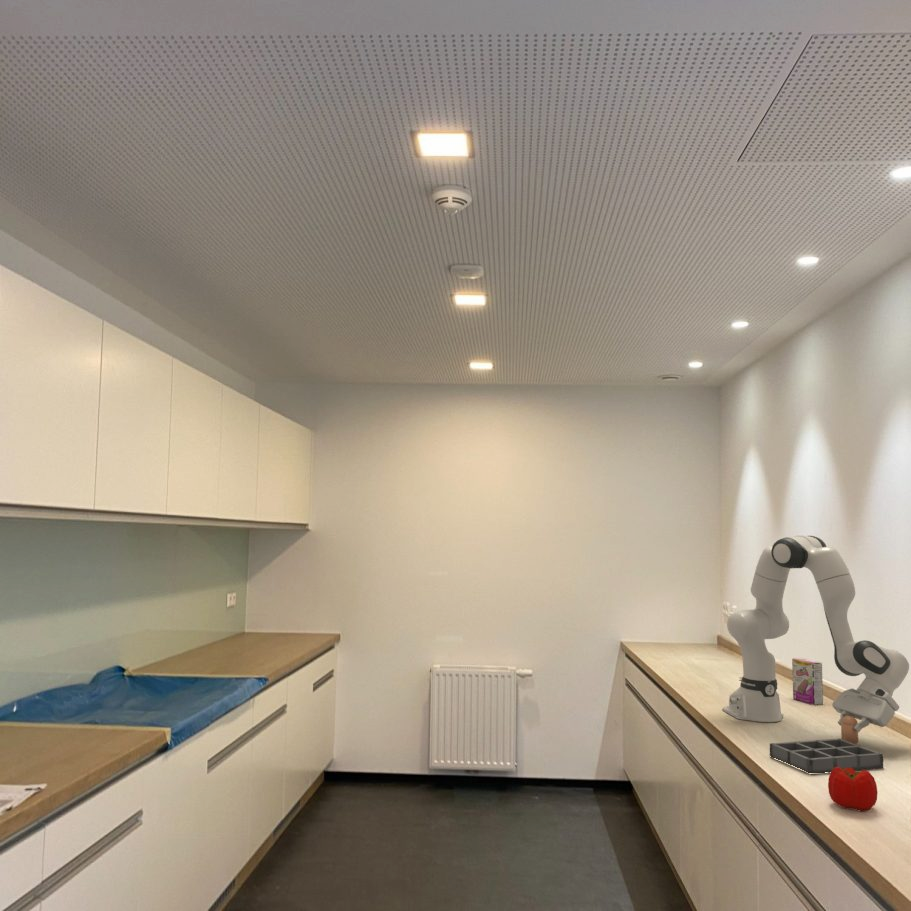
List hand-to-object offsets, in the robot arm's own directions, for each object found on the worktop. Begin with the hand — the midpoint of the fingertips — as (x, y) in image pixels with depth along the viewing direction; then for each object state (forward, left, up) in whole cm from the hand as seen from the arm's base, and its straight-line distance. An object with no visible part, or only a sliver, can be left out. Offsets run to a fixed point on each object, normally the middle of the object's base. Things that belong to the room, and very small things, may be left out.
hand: (847, 727), depth 249 cm
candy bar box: (-60, +34, -7) cm, 69 cm away
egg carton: (+11, -18, -6) cm, 23 cm away
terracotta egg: (0, +1, -4) cm, 4 cm away
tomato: (+44, -38, -7) cm, 59 cm away
